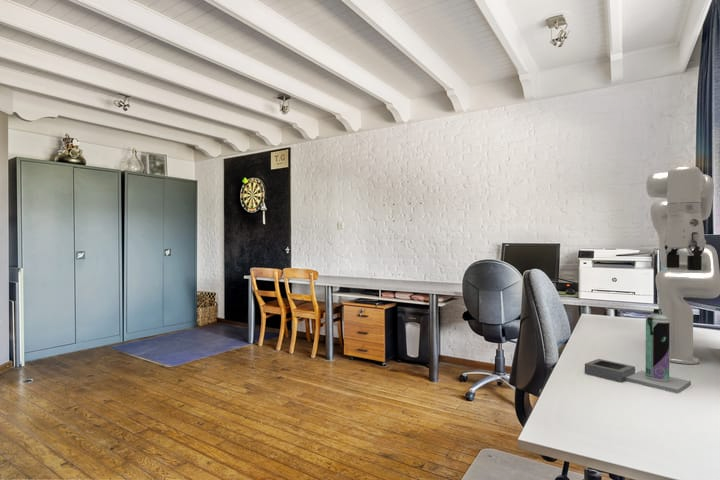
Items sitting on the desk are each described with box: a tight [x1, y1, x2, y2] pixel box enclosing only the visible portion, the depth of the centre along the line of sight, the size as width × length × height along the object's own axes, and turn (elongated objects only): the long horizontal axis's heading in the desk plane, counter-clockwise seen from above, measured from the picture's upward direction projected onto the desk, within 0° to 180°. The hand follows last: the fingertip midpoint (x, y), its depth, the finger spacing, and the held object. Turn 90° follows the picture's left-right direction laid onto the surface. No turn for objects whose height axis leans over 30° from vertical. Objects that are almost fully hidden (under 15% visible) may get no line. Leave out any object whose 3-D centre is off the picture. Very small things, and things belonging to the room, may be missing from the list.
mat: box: [625, 370, 692, 394], centre depth 113 cm, size 12×12×1 cm
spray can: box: [645, 308, 670, 382], centre depth 113 cm, size 6×6×20 cm
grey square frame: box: [584, 358, 636, 384], centre depth 119 cm, size 10×10×3 cm
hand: (683, 268), depth 115 cm, fingers open, 9 cm apart
